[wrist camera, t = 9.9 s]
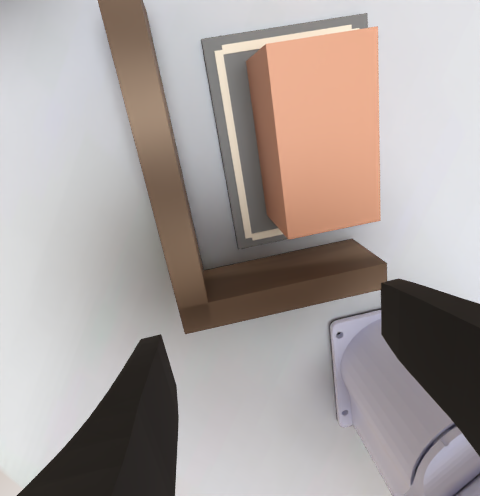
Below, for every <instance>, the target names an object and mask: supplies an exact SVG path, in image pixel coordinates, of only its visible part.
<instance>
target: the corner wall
mask: <svg viewBox="0 0 480 496" xmlns="http://www.w3.org/2000/svg"><path fill="white" fill-rule="evenodd" d="M98 3H99V7H100V11H101V15H102V19H103V23H104V26H105V30H106V34H107V38H108V42H109V45H110V49H111V53H112V57H113V61H114V65H115V68H116V72H117V76H118V80H119V84H120V88H121V91H122V95H123V99H124V103H125V107H126V110H127V114H128V118H129V122H130V126H131V130H132V133H133V137H134V141H135V145H136V149H137V152H138V156H139V160H140V164H141V168H142V172H143V175H144V179H145V183H146V187H147V191H148V195H149V198H150V202H151V206H152V210H153V214H154V217H155V221H156V225H157V229H158V233H159V237H160V240H161V244H162V248H163V252H164V256H165V259H166V263H167V267H168V271H169V275H170V279H171V282H172V286H173V290H174V294H175V298H176V302H177V305H178V309H179V313H180V317H181V321H182V324H183V328H184V332H185V334H188V333H193V332H197V331H202V330H206V329H210V328H215V327H219V326H224V325H228V324H232V323H237V322H241V321H245V320H250V319H254V318H259V317H263V316H267V315H272V314H276V313H281V312H285V311H289V310H294V309H298V308H303V307H307V306H311V305H316V304H320V303H324V302H329V301H333V300H338V299H342V298H346V297H351V296H355V295H360V294H364V293H368V292H373V291H377V290H381V283H383V282H387V263H386V262H384V261H383V260H382V259H380V258H379V257H377V256H376V255H375V254H373V253H372V252H370V251H369V250H368V249H366V248H365V247H363V246H362V245H360V244H359V243H358V242H356V241H355V240H353V239H349V240H345V241H340V242H335V243H331V244H326V245H321V246H316V247H312V248H307V249H302V250H298V251H293V252H288V253H284V254H279V255H274V256H270V257H265V258H260V259H256V260H251V261H246V262H241V263H237V264H232V265H227V266H223V267H218V268H213V269H209V270H203V266H202V261H201V257H200V252H199V248H198V243H197V239H196V234H195V229H194V225H193V220H192V216H191V211H190V207H189V202H188V198H187V193H186V189H185V184H184V180H183V175H182V171H181V166H180V162H179V157H178V153H177V148H176V144H175V139H174V134H173V130H172V125H171V121H170V116H169V112H168V107H167V103H166V98H165V94H164V89H163V85H162V80H161V76H160V71H159V67H158V62H157V58H156V53H155V49H154V44H153V40H152V35H151V30H150V26H149V21H148V17H147V12H146V9H145V6H144V3H143V0H98Z"/></svg>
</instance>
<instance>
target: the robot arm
mask: <svg viewBox="0 0 480 496" xmlns="http://www.w3.org/2000/svg"><path fill="white" fill-rule="evenodd" d="M338 332H341V333H340V334H339V335H336V334H337V333H338ZM330 333H331V345H332V358H333V370H334V382H335V395H336V407H337V420H338V423H339V425H340V426H341V427H348V426H352V425H353V426H354V427H355V429H356V431H357V433H358V434H359V436H360V438H361V440H362V442H363V443H364V445H365V447H366V449H367V451H368V452H369V454H370V456H371V458H372V460H373V461H374V463H375V465H376V467H377V469H378V470H379V472H380V474H381V476H382V477H383V479H384V481H385V483H386V485H387V486H388V488H389V490H390V492H391V494H392V495H393V496H480V304H478V303H475V302H472V301H468V300H465V299H462V298H459V297H456V296H453V295H450V294H447V293H444V292H441V291H438V290H435V289H432V288H429V287H426V286H422V285H419V284H416V283H413V282H409V281H406V280H402V279H395V280H391V281H387V282H383V283H381V310H378V311H374V312H369V313H365V314H361V315H356V316H352V317H348V318H343V319H339V320H336V321H334V322H332V324H331V325H330ZM344 410H345V411H344ZM177 441H178V401H177V389H176V383H175V380H174V376H173V373H172V370H171V366H170V363H169V360H168V356H167V353H166V349H165V346H164V343H163V339H162V336H161V335H157V336H153V337H148V338H144V339H141V340H140V342H139V343H138V345H137V346H136V348H135V350H134V351H133V353H132V354H131V356H130V358H129V359H128V361H127V363H126V364H125V366H124V368H123V369H122V371H121V372H120V374H119V375H118V377H117V378H116V380H115V381H114V383H113V385H112V386H111V388H110V389H109V391H108V392H107V394H106V395H105V396H104V398H103V399H102V400H101V402H100V403H99V405H98V406H97V407H96V409H95V410H94V411H93V413H92V414H91V416H90V417H89V418H88V419H87V421H86V422H85V423H84V424H83V426H82V427H81V428H80V429H79V431H78V432H77V433H76V434H75V435H74V436H73V438H72V439H71V440H70V441H69V442H68V443H67V444H66V446H65V447H64V448H63V449H62V450H61V451H60V452H59V453H58V454H57V455H56V456H55V458H54V459H53V460H52V461H51V462H50V463H49V464H48V465H47V466H46V467H45V468H44V469H43V470H42V471H41V472H40V473H39V474H38V475H37V476H36V477H35V478H34V479H33V480H32V481H31V482H30V483H29V484H28V485H27V486H26V487H25V488H24V489H23V490H22V491H21V492H20V493H19V494H18V495H17V496H175V482H176V461H177Z"/></svg>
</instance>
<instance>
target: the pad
mask: <svg viewBox="0 0 480 496" xmlns="http://www.w3.org/2000/svg"><path fill="white" fill-rule="evenodd" d="M364 28H368V20H367V13H365V14H359V15H352V16H346V17H339V18H333V19H327V20H320V21H314V22H307V23H301V24H295V25H288V26H282V27H275V28H269V29H263V30H256V31H250V32H243V33H237V34H231V35H224V36H218V37H211V38H205V39H202V40H201V41H202V47H203V52H204V58H205V64H206V69H207V75H208V81H209V86H210V92H211V98H212V103H213V109H214V115H215V120H216V126H217V132H218V137H219V143H220V149H221V154H222V160H223V166H224V171H225V177H226V183H227V188H228V194H229V199H230V205H231V211H232V216H233V222H234V228H235V233H236V239H237V245H238V249H243V248H248V247H252V246H257V245H262V244H267V243H271V242H276V241H281V240H286V239H288V238H287V237H286V236H285V235H284V234H283V233H282V232H281V230H280V229H279V228H278V227H277V226H276V225H275V224H274V222H273V221H272V220H271V219H270V218H269V217H268V216H267V213H266V206H265V198H264V191H263V184H262V176H261V169H260V162H259V154H258V147H257V140H256V132H255V125H254V118H253V110H252V103H251V96H250V88H249V81H248V74H247V66H246V61H247V60H248V59H249V58H250V57H251V56H253V55H254V54H255V53H256V52H257V51H258V50H259V49H261V48H262V47H263V46H264V45H265V44H268V43H275V42H281V41H288V40H294V39H300V38H307V37H313V36H320V35H326V34H332V33H339V32H345V31H352V30H358V29H364Z"/></svg>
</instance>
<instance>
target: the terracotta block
mask: <svg viewBox="0 0 480 496" xmlns="http://www.w3.org/2000/svg"><path fill="white" fill-rule="evenodd" d="M246 66H247V74H248V81H249V88H250V96H251V103H252V110H253V118H254V125H255V132H256V140H257V147H258V154H259V162H260V169H261V176H262V184H263V191H264V198H265V206H266V213H267V216H268V217H269V218H270V219H271V220H272V221H273V222H274V224H275V225H276V226H277V227H278V228H279V229H280V230H281V232H282V233H283V234H284V235H285V236H286V237H287V238H288V240H289V239H294V238H299V237H303V236H308V235H313V234H318V233H323V232H328V231H332V230H337V229H342V228H347V227H352V226H357V225H361V224H366V223H371V222H376V221H380V156H379V82H378V26H377V27H371V28H364V29H358V30H352V31H345V32H339V33H332V34H326V35H320V36H313V37H307V38H300V39H294V40H288V41H281V42H275V43H268V44H265V45H264V46H263V47H262V48H261V49H259V50H258V51H257V52H256V53H255V54H254V55H253V56H251V57H250V58H249V59H248V60H247V61H246Z"/></svg>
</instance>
